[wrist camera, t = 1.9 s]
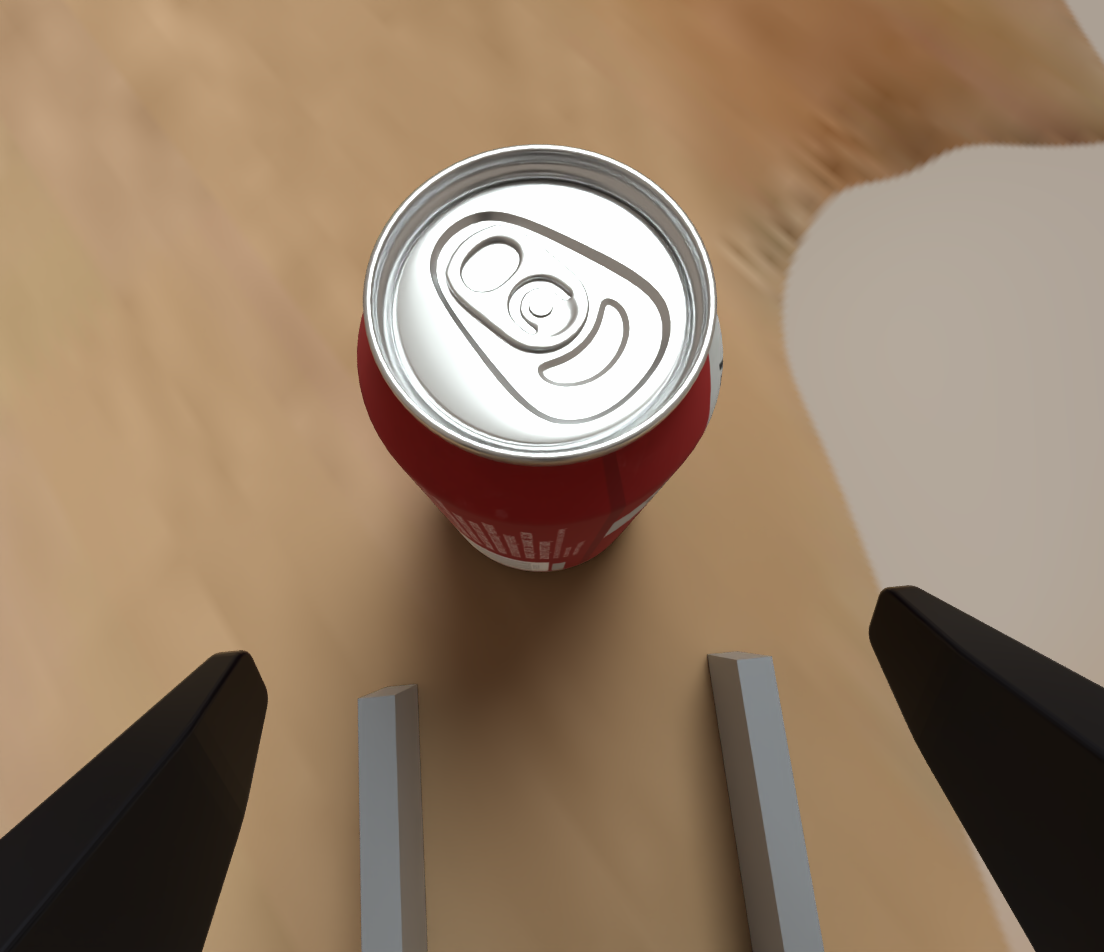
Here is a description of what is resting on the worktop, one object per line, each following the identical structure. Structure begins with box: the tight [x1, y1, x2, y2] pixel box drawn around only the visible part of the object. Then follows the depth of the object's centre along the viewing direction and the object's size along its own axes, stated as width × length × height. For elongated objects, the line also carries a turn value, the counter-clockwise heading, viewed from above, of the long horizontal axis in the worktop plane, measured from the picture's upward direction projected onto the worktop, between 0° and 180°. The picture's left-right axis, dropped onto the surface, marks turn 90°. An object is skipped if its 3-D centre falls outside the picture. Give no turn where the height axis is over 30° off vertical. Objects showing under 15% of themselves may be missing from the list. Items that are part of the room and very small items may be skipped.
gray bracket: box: [358, 651, 824, 952], centre depth 16 cm, size 10×12×3 cm
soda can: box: [357, 144, 723, 572], centre depth 15 cm, size 7×7×12 cm
